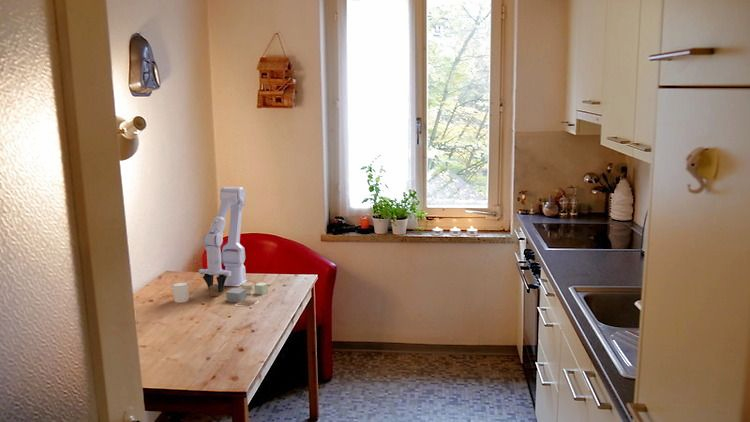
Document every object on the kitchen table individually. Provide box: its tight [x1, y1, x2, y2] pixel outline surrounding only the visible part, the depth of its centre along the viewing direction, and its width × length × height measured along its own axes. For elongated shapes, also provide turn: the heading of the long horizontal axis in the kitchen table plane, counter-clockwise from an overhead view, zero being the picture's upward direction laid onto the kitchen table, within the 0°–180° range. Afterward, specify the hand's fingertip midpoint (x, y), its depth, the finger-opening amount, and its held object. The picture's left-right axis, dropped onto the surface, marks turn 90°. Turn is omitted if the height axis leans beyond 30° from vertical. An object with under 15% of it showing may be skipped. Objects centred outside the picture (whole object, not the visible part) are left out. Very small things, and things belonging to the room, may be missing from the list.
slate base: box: [225, 287, 248, 303], centre depth 279 cm, size 6×6×4 cm
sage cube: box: [254, 281, 269, 296], centre depth 287 cm, size 4×4×4 cm
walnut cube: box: [208, 283, 224, 297], centre depth 286 cm, size 4×4×4 cm
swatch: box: [234, 299, 260, 308], centre depth 273 cm, size 7×7×1 cm
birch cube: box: [241, 281, 255, 295], centre depth 288 cm, size 4×4×4 cm
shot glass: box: [171, 281, 190, 304], centre depth 278 cm, size 7×7×7 cm
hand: (216, 291), depth 286 cm, fingers closed on walnut cube, 4 cm apart
